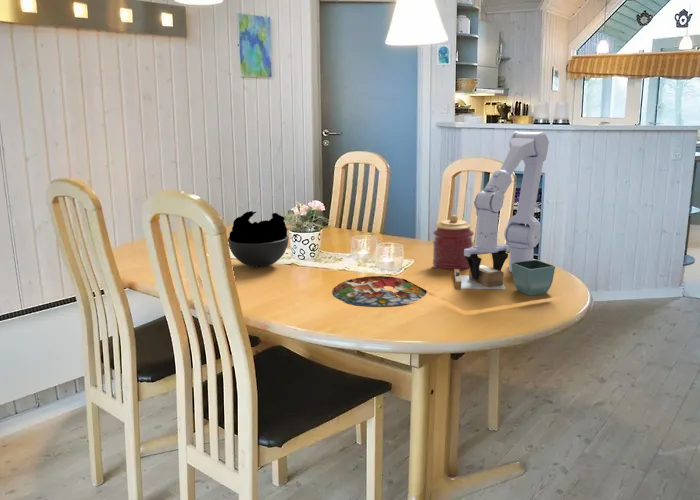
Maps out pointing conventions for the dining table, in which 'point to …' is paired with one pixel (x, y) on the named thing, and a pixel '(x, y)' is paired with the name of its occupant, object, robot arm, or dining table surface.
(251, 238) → the coal bowl
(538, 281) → the flower pot
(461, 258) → the canister
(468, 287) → the wall panel
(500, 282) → the frame
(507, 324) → the dining table surface
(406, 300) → the decorative plaque
